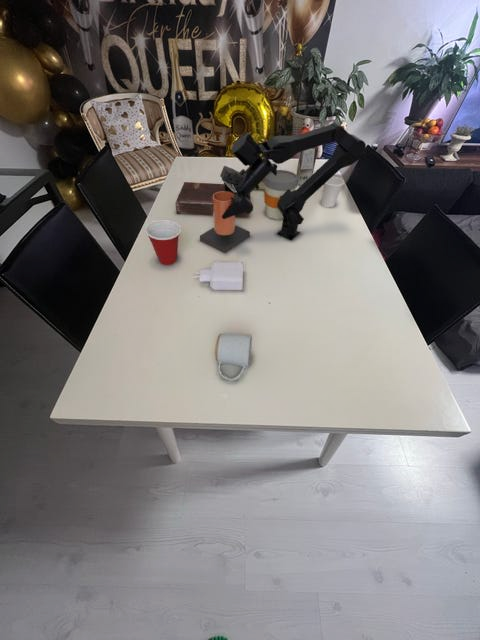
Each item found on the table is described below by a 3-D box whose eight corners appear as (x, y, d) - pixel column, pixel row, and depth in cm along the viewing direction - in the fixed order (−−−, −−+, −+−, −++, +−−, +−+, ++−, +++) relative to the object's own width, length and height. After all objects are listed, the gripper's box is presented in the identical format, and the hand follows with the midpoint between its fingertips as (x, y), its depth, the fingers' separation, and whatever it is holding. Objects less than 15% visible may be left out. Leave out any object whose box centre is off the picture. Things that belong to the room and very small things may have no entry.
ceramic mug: (219, 344, 76) (218, 324, 70) (251, 347, 76) (253, 328, 70) (212, 380, 69) (210, 362, 63) (247, 384, 69) (248, 366, 63)
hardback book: (176, 214, 120) (175, 202, 117) (185, 193, 133) (184, 181, 129) (248, 218, 119) (248, 206, 116) (250, 196, 132) (251, 185, 128)
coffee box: (311, 185, 141) (318, 148, 130) (297, 185, 141) (303, 148, 130) (308, 177, 148) (315, 141, 136) (295, 177, 148) (301, 141, 136)
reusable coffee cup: (257, 218, 120) (260, 179, 109) (266, 204, 128) (270, 167, 117) (287, 224, 117) (294, 185, 106) (295, 209, 125) (301, 172, 114)
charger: (195, 271, 96) (242, 272, 96) (192, 290, 90) (242, 291, 90) (194, 259, 92) (242, 260, 92) (191, 278, 86) (242, 279, 86)
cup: (238, 227, 105) (239, 194, 96) (228, 237, 101) (227, 203, 92) (221, 222, 107) (220, 189, 99) (210, 231, 103) (208, 197, 94)
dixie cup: (339, 208, 127) (346, 185, 119) (319, 208, 127) (325, 184, 119) (335, 199, 132) (341, 176, 125) (316, 199, 132) (321, 175, 125)
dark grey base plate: (225, 224, 116) (224, 215, 113) (250, 236, 111) (251, 226, 108) (199, 240, 108) (198, 230, 105) (225, 253, 103) (225, 243, 100)
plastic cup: (178, 272, 95) (173, 239, 86) (147, 267, 97) (138, 234, 88) (189, 253, 103) (185, 221, 94) (159, 248, 104) (153, 216, 95)
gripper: (229, 146, 94) (197, 184, 100) (244, 169, 82) (206, 211, 88) (252, 170, 101) (221, 204, 107) (269, 195, 89) (232, 232, 95)
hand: (220, 212), depth 99 cm, fingers closed on cup, 7 cm apart
